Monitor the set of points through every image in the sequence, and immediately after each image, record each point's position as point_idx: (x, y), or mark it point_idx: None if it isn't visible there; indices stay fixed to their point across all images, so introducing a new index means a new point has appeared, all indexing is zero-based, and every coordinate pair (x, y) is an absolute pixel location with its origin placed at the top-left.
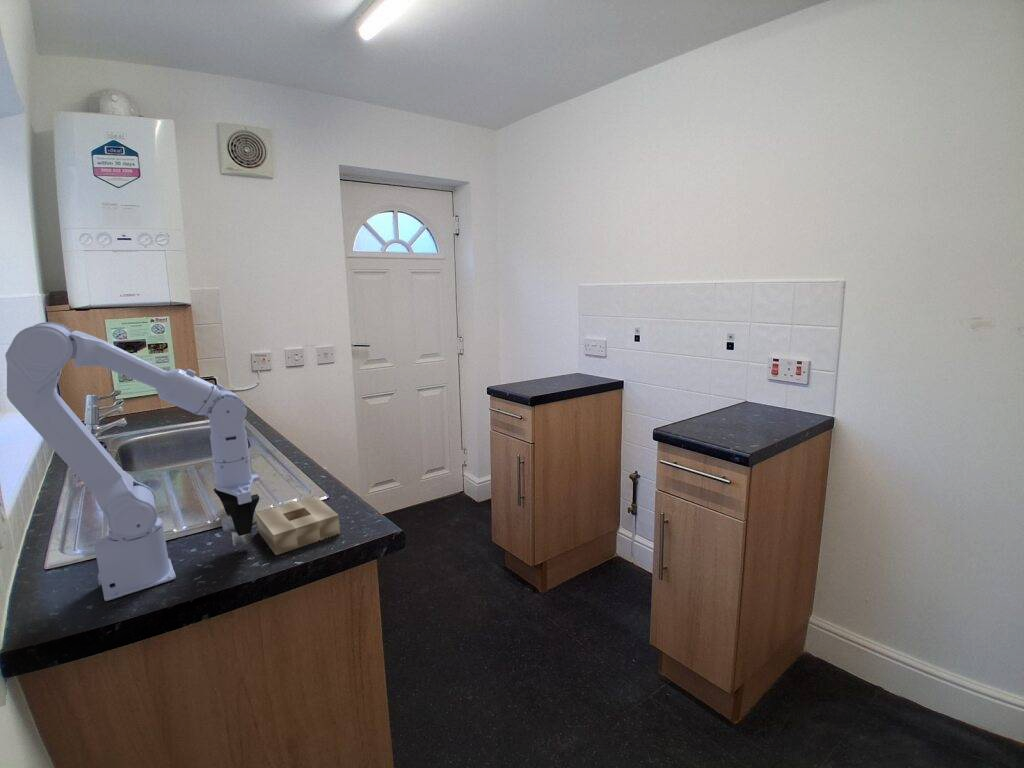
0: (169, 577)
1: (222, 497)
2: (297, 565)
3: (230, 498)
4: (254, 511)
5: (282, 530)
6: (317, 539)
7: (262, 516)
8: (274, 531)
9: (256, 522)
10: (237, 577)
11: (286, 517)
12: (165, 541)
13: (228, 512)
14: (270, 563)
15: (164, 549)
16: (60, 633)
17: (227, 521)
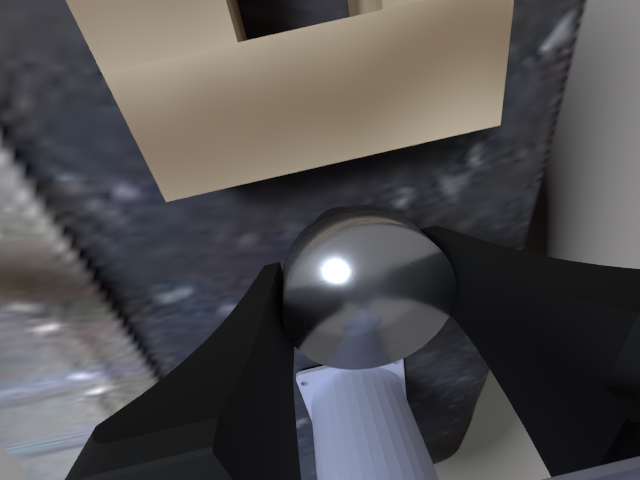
0: None
1: (296, 469)
2: (573, 44)
3: (283, 417)
4: (373, 236)
5: (482, 72)
6: None
7: (230, 169)
8: (465, 117)
9: (381, 208)
10: (490, 231)
11: (236, 22)
12: (375, 445)
13: (305, 352)
14: (483, 141)
15: (392, 428)
16: (454, 433)
17: (420, 344)
